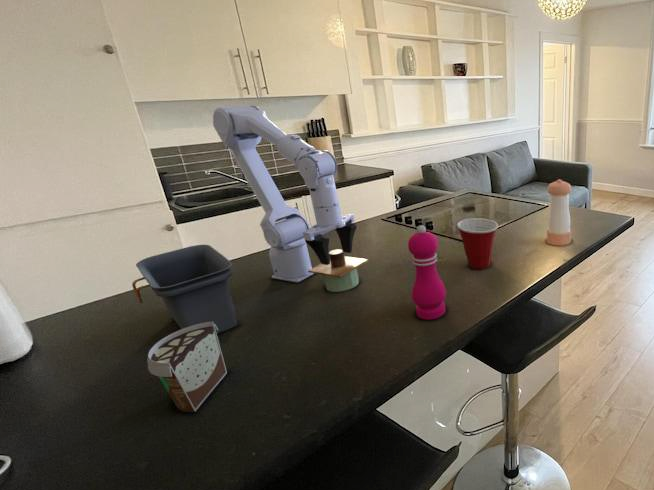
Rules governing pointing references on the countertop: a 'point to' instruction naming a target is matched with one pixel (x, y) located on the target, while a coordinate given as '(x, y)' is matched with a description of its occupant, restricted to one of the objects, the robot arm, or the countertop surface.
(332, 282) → the green cup
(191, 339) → the food container
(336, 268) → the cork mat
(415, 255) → the pepper mill
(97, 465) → the countertop surface
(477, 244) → the plastic cup
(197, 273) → the storage bin
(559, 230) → the salt shaker
